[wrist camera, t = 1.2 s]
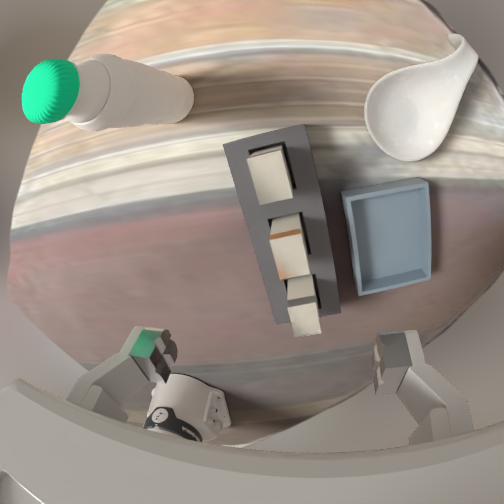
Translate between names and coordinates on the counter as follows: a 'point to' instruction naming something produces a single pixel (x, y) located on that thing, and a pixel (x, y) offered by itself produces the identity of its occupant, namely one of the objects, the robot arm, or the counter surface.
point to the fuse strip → (303, 202)
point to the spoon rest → (418, 103)
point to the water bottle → (105, 93)
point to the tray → (389, 234)
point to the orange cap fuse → (289, 246)
